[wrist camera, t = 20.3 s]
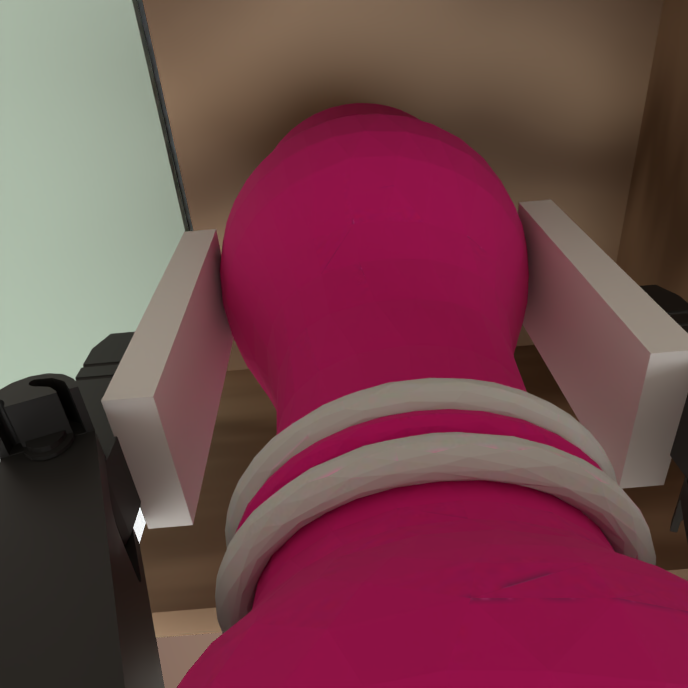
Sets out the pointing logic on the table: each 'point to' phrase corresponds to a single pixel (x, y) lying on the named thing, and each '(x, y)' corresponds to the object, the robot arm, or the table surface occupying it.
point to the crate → (454, 117)
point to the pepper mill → (414, 443)
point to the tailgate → (79, 182)
